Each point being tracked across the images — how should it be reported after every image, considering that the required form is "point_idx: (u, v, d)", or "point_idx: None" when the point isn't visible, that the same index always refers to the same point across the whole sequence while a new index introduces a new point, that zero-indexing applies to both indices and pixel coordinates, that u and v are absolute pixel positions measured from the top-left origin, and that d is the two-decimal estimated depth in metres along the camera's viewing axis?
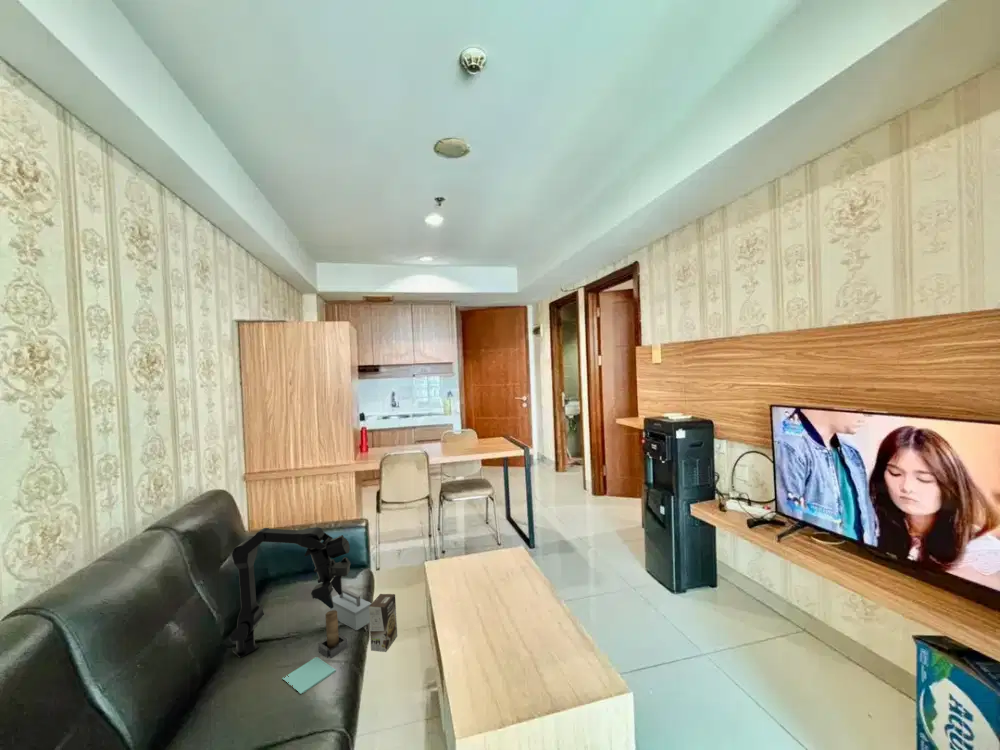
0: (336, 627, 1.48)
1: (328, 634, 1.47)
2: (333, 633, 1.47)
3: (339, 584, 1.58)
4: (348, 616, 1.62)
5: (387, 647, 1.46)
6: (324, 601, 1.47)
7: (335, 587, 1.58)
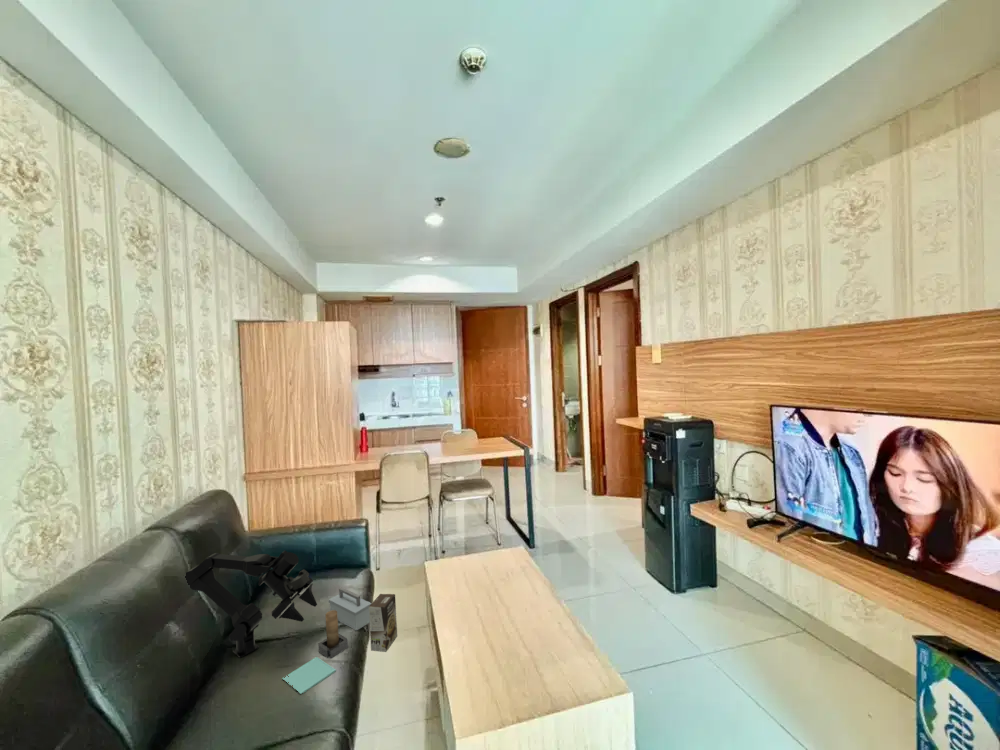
0: (336, 627, 1.48)
1: (328, 634, 1.47)
2: (333, 633, 1.47)
3: (310, 597, 1.54)
4: (348, 616, 1.62)
5: (387, 647, 1.46)
6: (291, 617, 1.44)
7: (308, 601, 1.54)
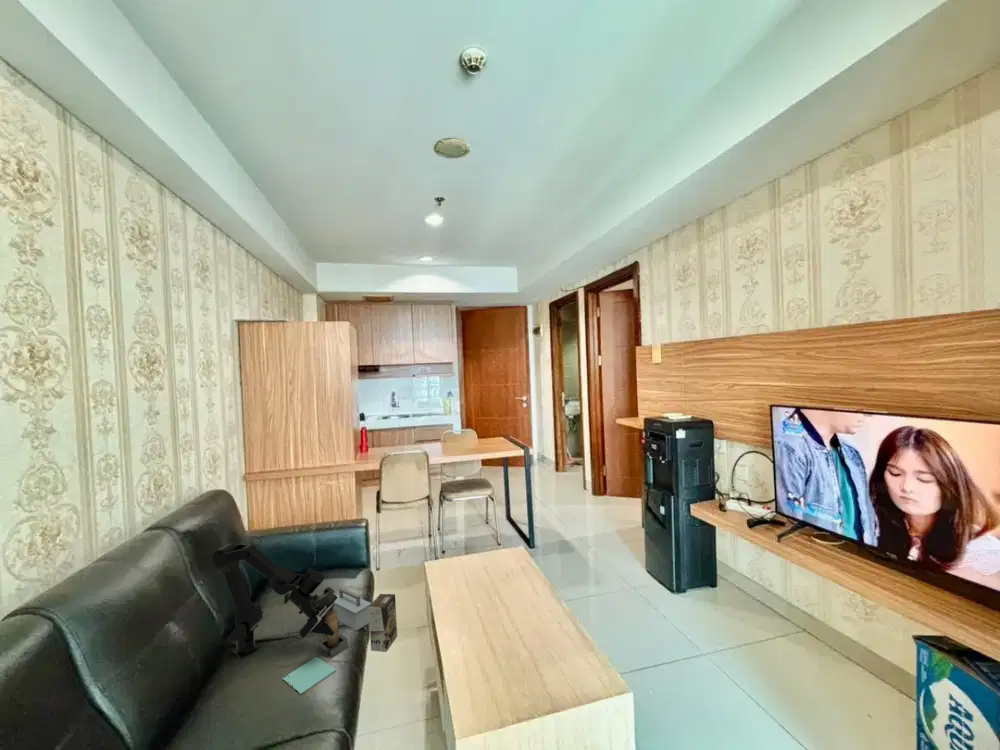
0: (336, 627, 1.48)
1: None
2: None
3: None
4: (348, 616, 1.62)
5: (387, 647, 1.46)
6: (322, 631, 1.46)
7: None
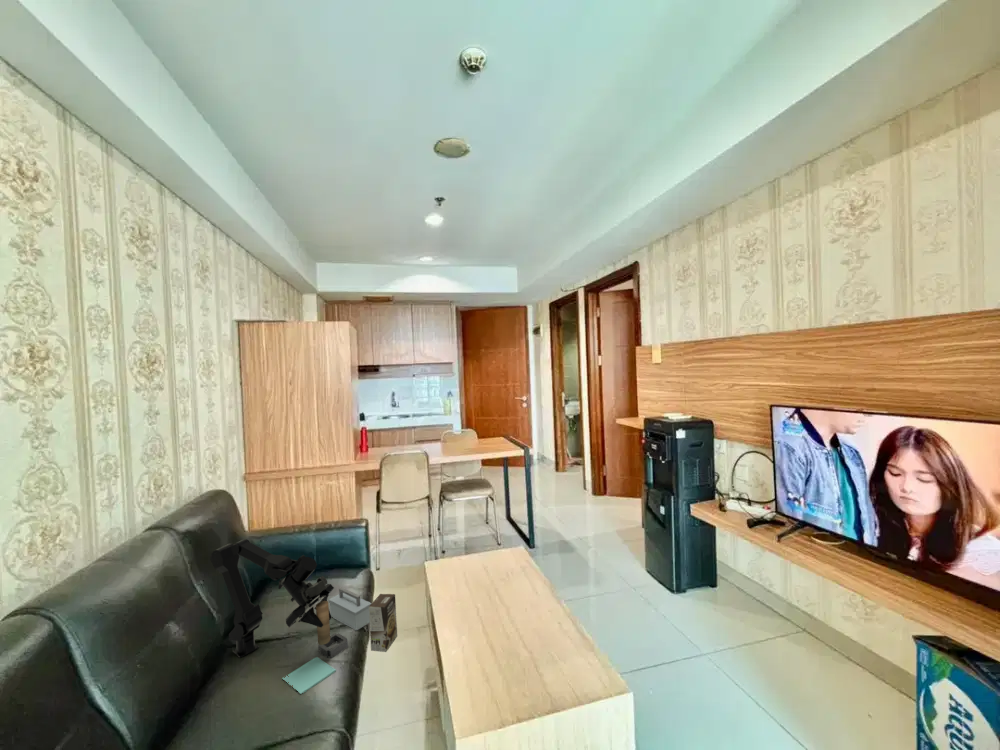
0: (326, 619, 1.42)
1: None
2: None
3: None
4: (348, 616, 1.62)
5: (387, 647, 1.46)
6: (310, 622, 1.40)
7: None
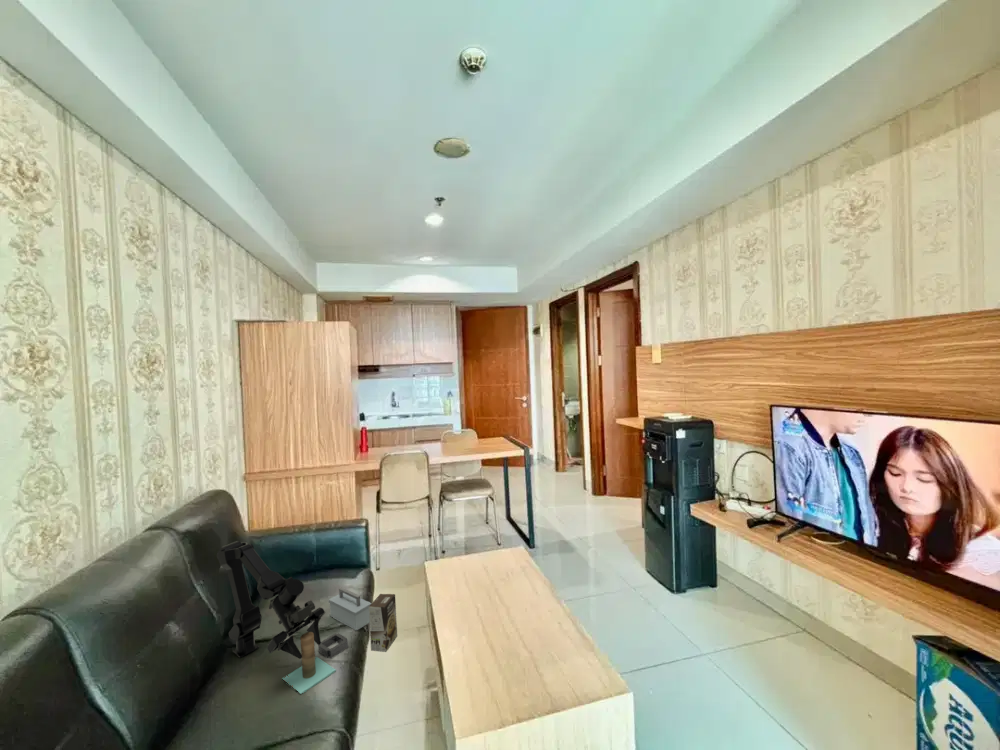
0: (310, 652, 1.34)
1: (302, 658, 1.34)
2: (306, 658, 1.34)
3: (315, 633, 1.40)
4: (348, 616, 1.62)
5: (387, 647, 1.46)
6: (290, 652, 1.32)
7: None
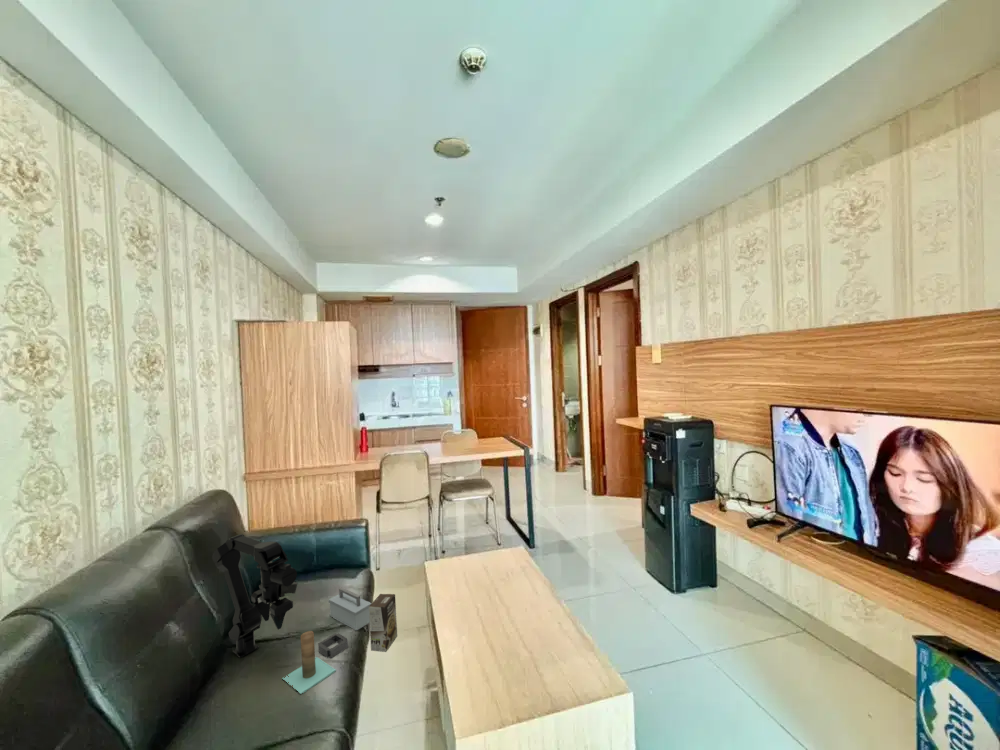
0: (310, 651, 1.35)
1: (302, 657, 1.35)
2: (306, 657, 1.34)
3: (268, 609, 1.47)
4: (348, 616, 1.62)
5: (387, 647, 1.46)
6: (277, 621, 1.39)
7: (262, 613, 1.46)
